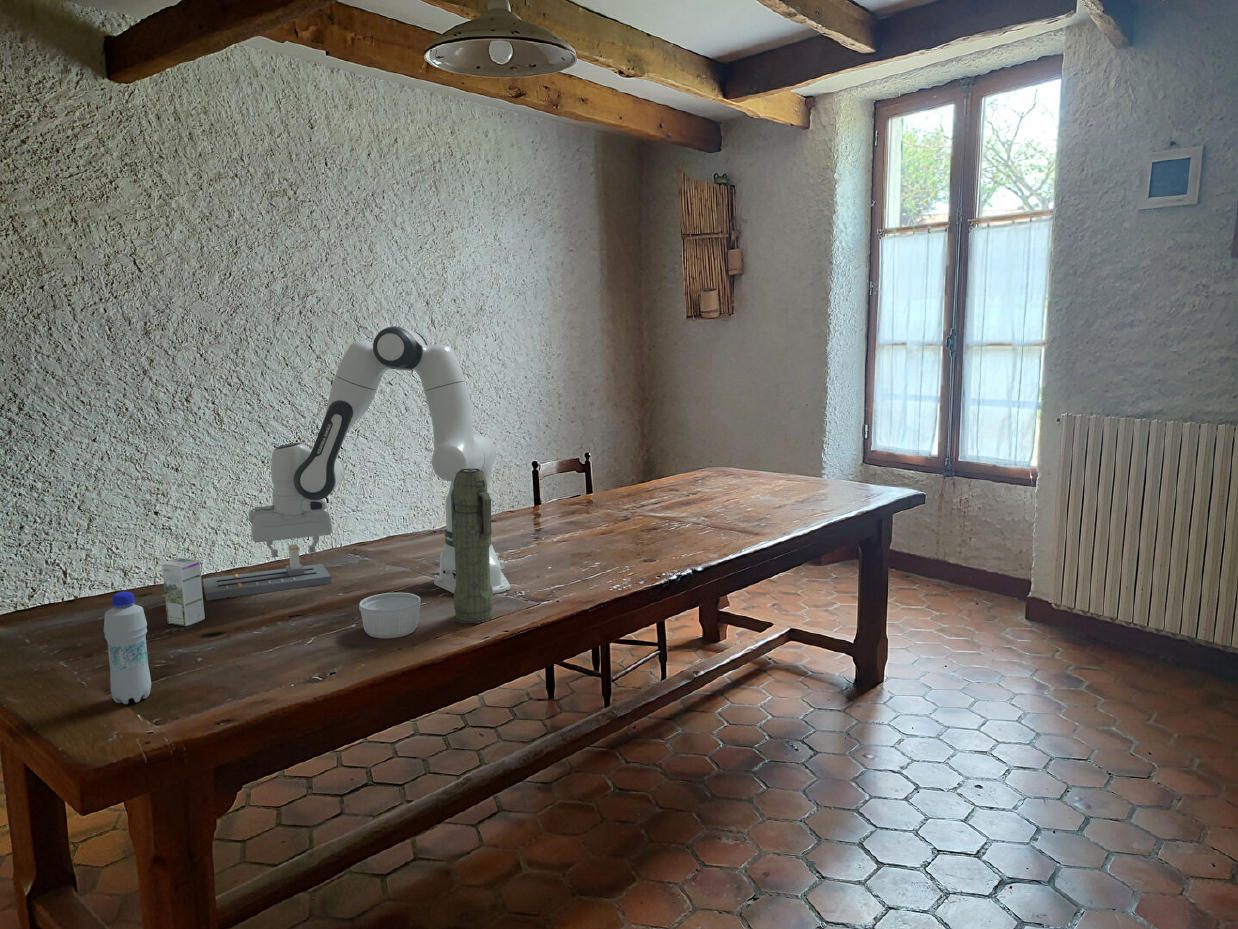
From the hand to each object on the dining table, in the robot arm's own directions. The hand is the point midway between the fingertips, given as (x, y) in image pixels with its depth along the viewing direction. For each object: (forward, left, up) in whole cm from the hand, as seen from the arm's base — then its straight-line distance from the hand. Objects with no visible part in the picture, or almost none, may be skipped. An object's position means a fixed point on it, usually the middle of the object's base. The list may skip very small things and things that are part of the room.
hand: (293, 554), depth 222 cm
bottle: (-64, +37, -8) cm, 74 cm away
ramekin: (-51, -13, -8) cm, 53 cm away
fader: (0, 0, -5) cm, 5 cm away
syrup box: (-22, +27, -8) cm, 36 cm away
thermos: (-52, -32, -8) cm, 62 cm away
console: (0, +7, -7) cm, 10 cm away
